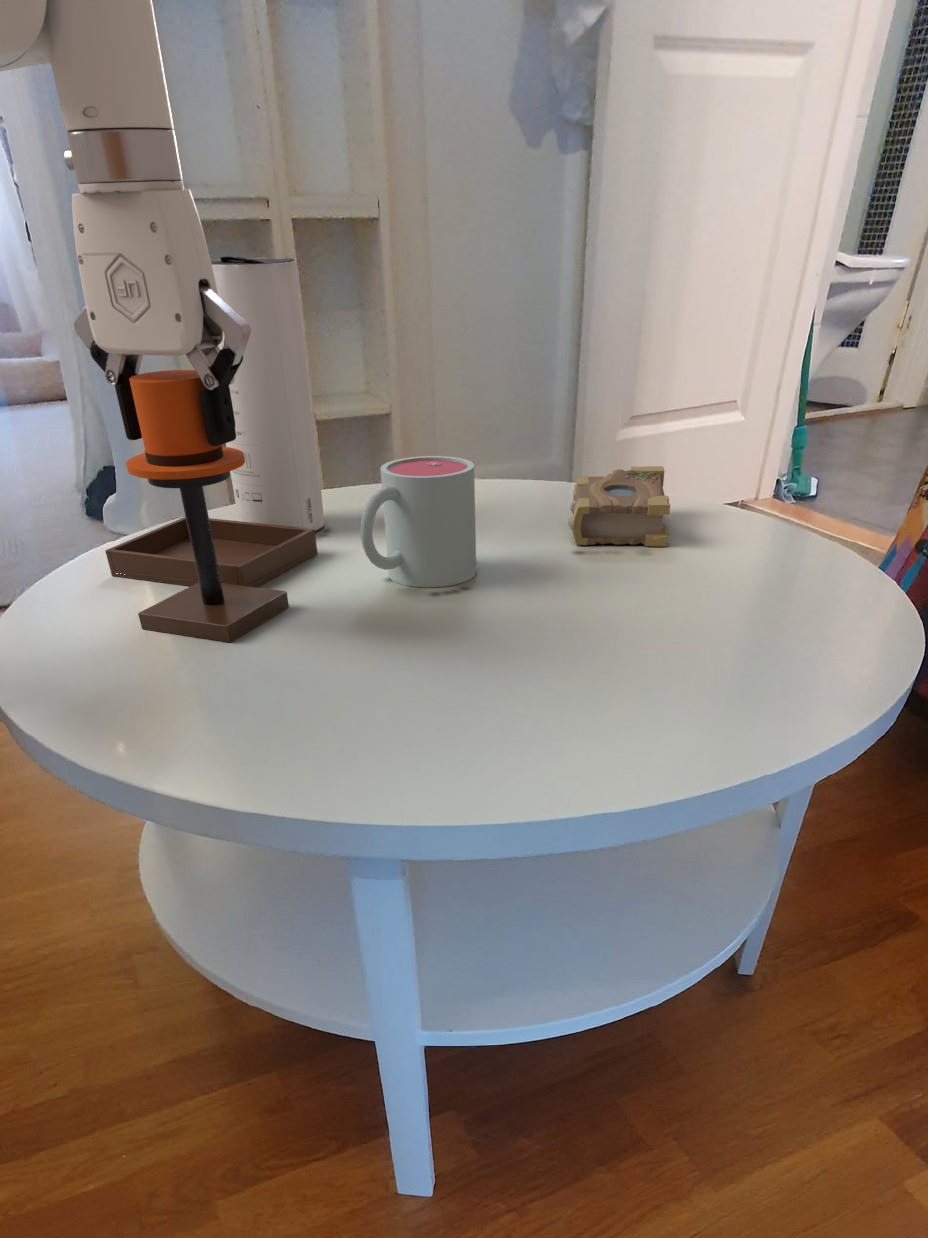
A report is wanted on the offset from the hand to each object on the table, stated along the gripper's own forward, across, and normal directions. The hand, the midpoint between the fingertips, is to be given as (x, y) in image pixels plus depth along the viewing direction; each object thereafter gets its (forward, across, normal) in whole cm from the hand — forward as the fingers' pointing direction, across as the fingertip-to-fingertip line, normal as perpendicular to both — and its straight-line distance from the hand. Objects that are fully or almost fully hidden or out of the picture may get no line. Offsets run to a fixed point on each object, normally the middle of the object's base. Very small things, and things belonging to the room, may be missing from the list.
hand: (181, 438), depth 80 cm
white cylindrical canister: (+15, -11, +29) cm, 35 cm away
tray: (+15, -10, +14) cm, 23 cm away
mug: (+15, +13, +17) cm, 26 cm away
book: (+15, +27, +41) cm, 51 cm away
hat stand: (+15, 0, 0) cm, 15 cm away
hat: (+2, 0, 0) cm, 2 cm away
